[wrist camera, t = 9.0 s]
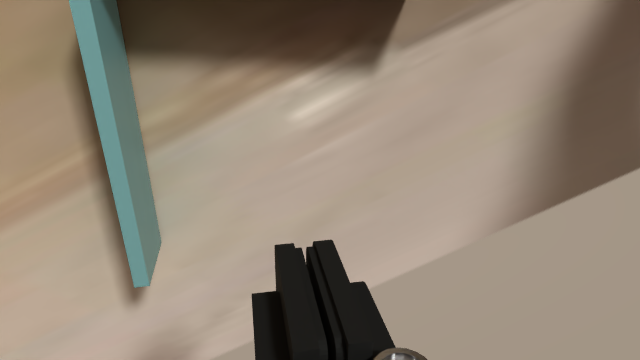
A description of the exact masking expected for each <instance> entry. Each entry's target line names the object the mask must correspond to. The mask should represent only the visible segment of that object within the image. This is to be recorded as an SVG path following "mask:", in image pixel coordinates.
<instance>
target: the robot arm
mask: <svg viewBox="0 0 640 360" xmlns="http://www.w3.org/2000/svg"><path fill="white" fill-rule="evenodd" d="M275 272H276V291H273V292H264V293H255V294H252V308H253V325H254V342H255V360H427V359H426V358H425V357H424V356H422V355H421V354H419V353H417V352H415V351H412V350H409V349H406V348H396V347H395V345H394V343H393V341H392V339H391V337H390V335H389V332H388V330H387V328H386V326H385V324H384V322H383V319H382V317H381V315H380V313H379V311H378V309H377V307H376V305H375V303H374V300H373V298H372V296H371V294H370V291H369V289H368V287H367V285H366V284H365V282H363V281H362V282H353V283H350V282H349V279H348V277H347V274H346V272H345V269H344V267H343V264H342V262H341V260H340V257H339V255H338V252H337V250H336V247H335V245H334V243H333V241H332V240H324V241H314V242H313V247H307V248H306V262H305V259H304V255H303V251H302V248H295V246H294V243H291V244H280V245H275Z"/></svg>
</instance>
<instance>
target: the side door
mask: <svg viewBox="0 0 640 360" xmlns="http://www.w3.org/2000/svg"><path fill="white" fill-rule="evenodd" d="M69 3H70V7H71V12H72V16H73V20H74V25H75V29H76V34H77V38H78V42H79V47H80V51H81V56H82V60H83V64H84V69H85V73H86V77H87V82H88V86H89V91H90V95H91V99H92V104H93V108H94V113H95V117H96V121H97V126H98V130H99V134H100V139H101V143H102V148H103V152H104V156H105V161H106V165H107V170H108V174H109V178H110V183H111V187H112V192H113V196H114V200H115V205H116V209H117V213H118V218H119V222H120V227H121V231H122V235H123V240H124V244H125V249H126V253H127V257H128V262H129V266H130V270H131V275H132V279H133V284H134V288H135V287H143V286H150V282H151V279H152V275H153V271H154V268H155V264H156V261H157V257H158V253H159V250H160V246H161V237H160V232H159V227H158V221H157V216H156V211H155V205H154V200H153V195H152V189H151V184H150V178H149V173H148V168H147V162H146V157H145V152H144V146H143V141H142V136H141V130H140V125H139V119H138V114H137V109H136V103H135V98H134V93H133V87H132V82H131V77H130V71H129V66H128V60H127V55H126V50H125V44H124V39H123V34H122V28H121V23H120V17H119V12H118V7H117V1H116V0H69Z"/></svg>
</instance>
